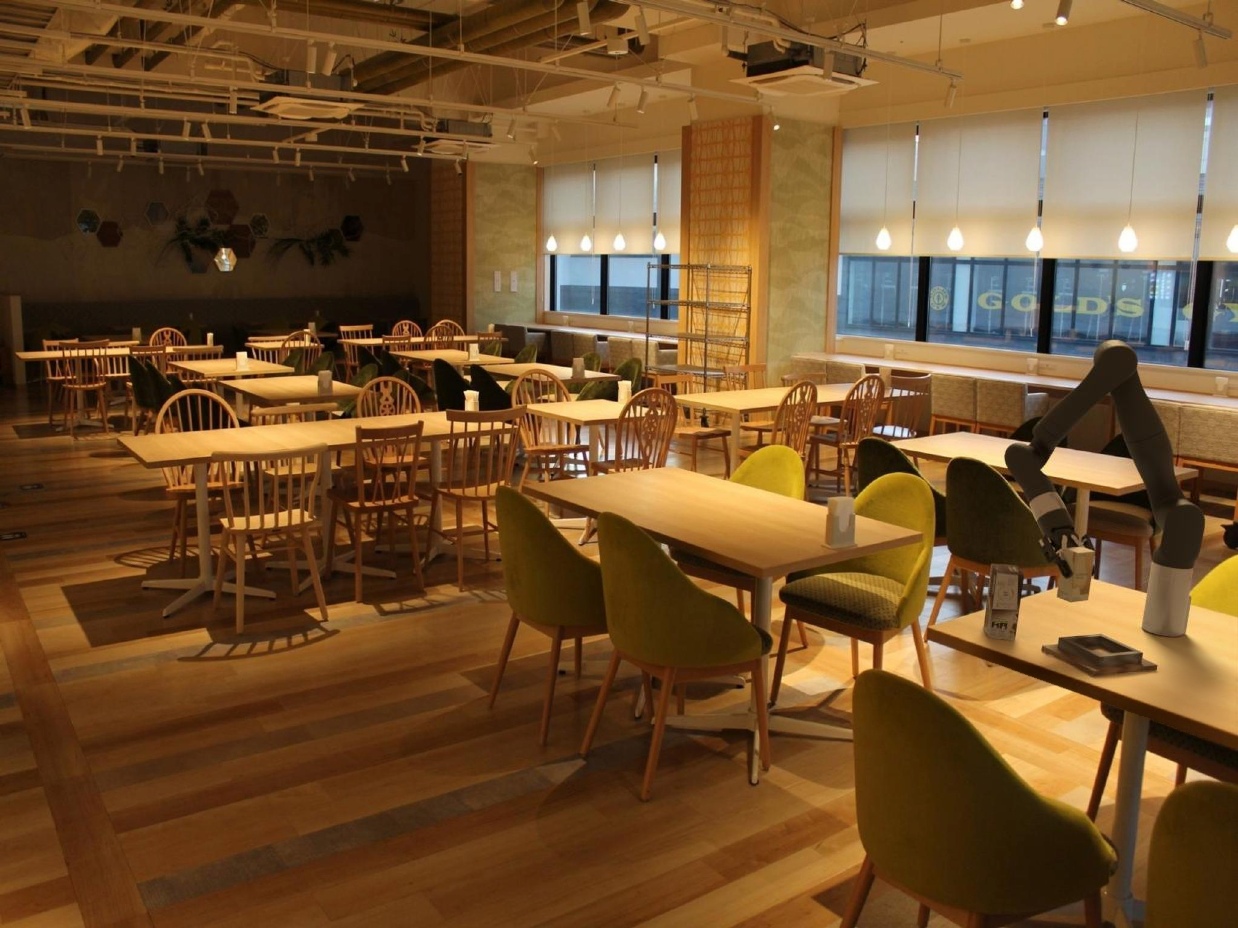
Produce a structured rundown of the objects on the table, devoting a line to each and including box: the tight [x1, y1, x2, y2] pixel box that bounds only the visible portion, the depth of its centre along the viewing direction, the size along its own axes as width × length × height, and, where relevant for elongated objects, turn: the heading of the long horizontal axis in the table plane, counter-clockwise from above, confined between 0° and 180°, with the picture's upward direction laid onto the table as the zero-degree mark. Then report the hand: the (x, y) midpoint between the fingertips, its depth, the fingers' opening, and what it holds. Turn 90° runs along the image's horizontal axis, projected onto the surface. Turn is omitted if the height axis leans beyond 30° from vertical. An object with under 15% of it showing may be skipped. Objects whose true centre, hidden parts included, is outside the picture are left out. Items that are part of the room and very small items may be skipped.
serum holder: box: [1041, 633, 1159, 678], centre depth 243 cm, size 18×16×4 cm
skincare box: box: [1056, 547, 1096, 603], centre depth 253 cm, size 6×4×12 cm
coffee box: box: [983, 563, 1025, 642], centre depth 256 cm, size 9×6×16 cm
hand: (1081, 575), depth 252 cm, fingers closed on skincare box, 6 cm apart
